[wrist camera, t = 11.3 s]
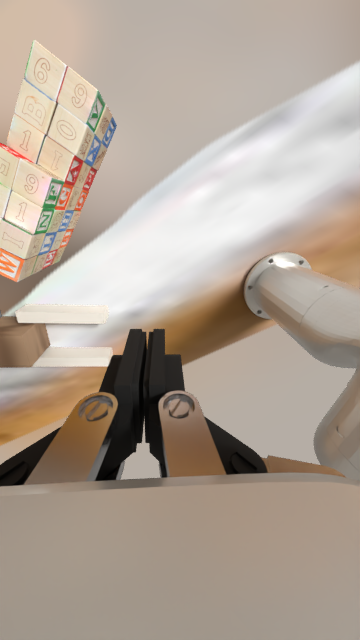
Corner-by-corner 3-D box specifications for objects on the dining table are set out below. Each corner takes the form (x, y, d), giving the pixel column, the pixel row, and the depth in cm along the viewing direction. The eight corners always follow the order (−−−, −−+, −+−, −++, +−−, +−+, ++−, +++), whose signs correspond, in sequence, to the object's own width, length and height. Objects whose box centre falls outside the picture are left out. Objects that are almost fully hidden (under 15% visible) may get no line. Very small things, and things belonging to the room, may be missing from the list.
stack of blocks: (72, 89, 28) (12, 6, 16) (118, 125, 29) (92, 72, 18) (20, 241, 35) (-47, 254, 23) (59, 262, 36) (15, 284, 25)
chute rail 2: (112, 347, 44) (108, 357, 41) (112, 355, 45) (109, 366, 42) (38, 347, 43) (28, 357, 39) (40, 355, 43) (31, 366, 40)
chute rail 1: (108, 305, 40) (103, 313, 37) (109, 315, 41) (104, 323, 38) (26, 303, 39) (14, 311, 36) (29, 314, 40) (18, 322, 36)
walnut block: (43, 316, 40) (21, 335, 34) (50, 344, 43) (31, 367, 36) (2, 316, 39) (-28, 335, 33) (11, 344, 42) (-15, 367, 36)
